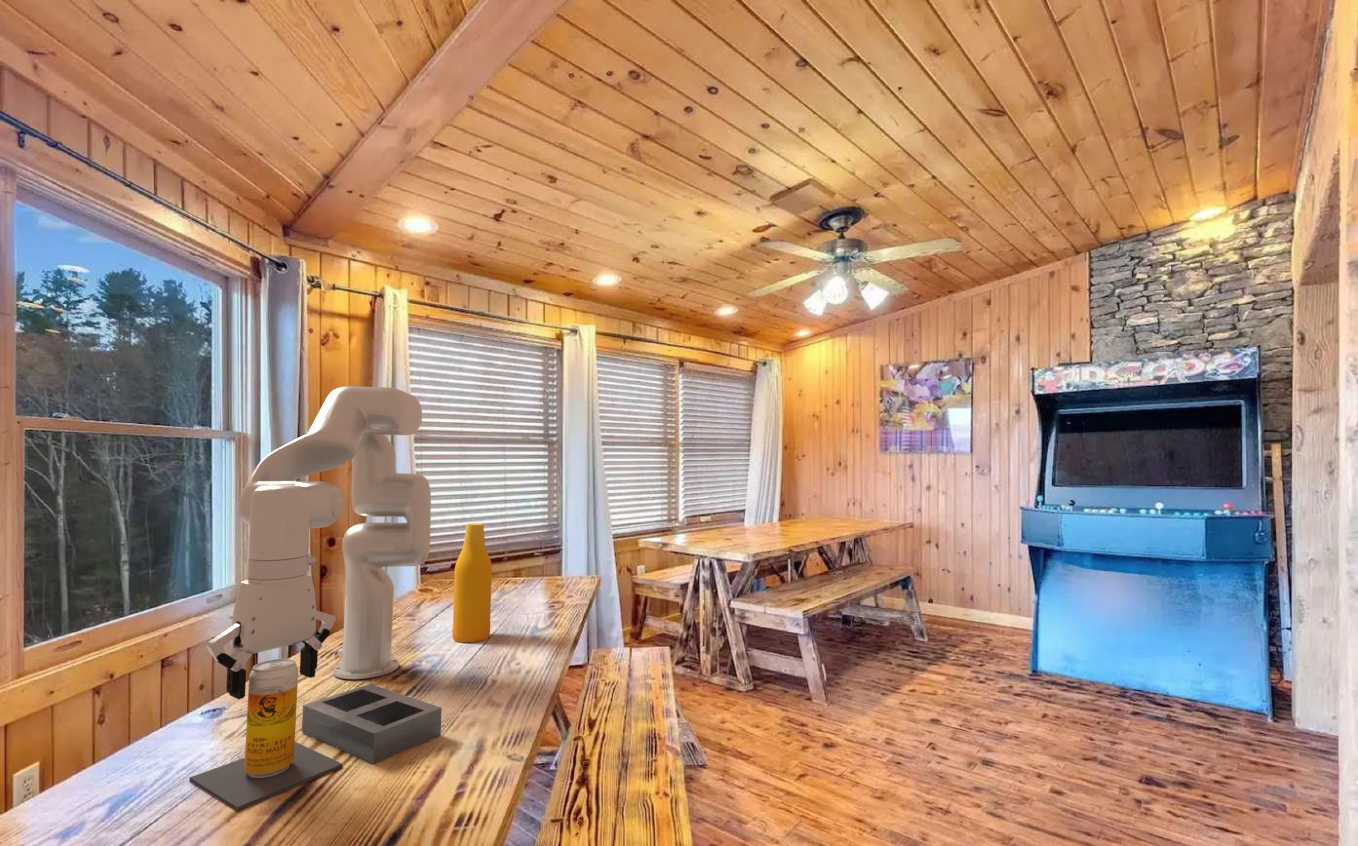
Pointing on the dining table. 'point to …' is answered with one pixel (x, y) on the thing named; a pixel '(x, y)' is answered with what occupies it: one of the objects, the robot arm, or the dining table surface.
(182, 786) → the dining table surface
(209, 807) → the dining table surface
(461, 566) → the beer bottle
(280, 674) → the beer can
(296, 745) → the mat
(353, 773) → the dining table surface
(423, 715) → the cinder block
